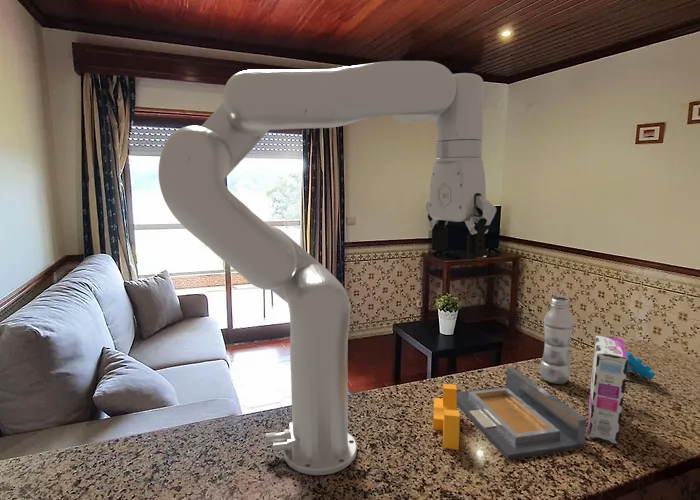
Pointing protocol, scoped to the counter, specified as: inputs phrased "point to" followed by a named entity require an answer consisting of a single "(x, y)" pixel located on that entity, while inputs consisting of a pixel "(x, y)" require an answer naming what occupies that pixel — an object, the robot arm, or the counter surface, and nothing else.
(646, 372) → the gear
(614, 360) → the candy bar box
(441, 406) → the orange notched block
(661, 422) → the counter surface
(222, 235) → the robot arm
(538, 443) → the grey tray with recess
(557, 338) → the plastic bottle
